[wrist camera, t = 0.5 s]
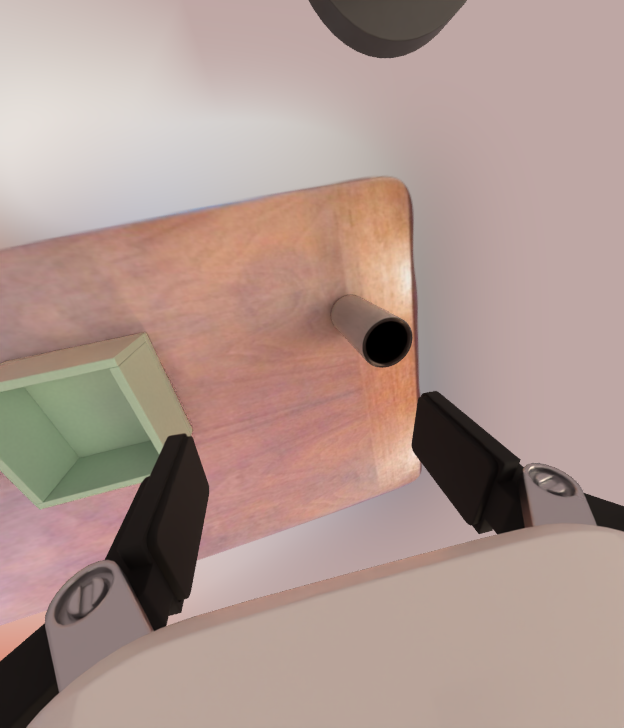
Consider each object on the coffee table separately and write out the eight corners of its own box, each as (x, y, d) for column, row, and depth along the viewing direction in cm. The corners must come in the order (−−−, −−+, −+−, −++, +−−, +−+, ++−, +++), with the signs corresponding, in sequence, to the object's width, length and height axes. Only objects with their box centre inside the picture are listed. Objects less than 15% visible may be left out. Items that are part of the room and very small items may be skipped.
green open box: (5, 360, 26) (-74, 398, 20) (145, 331, 27) (113, 357, 21) (81, 458, 32) (39, 510, 26) (193, 430, 33) (178, 473, 27)
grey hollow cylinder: (328, 298, 30) (360, 324, 20) (365, 290, 30) (413, 311, 21) (333, 335, 32) (364, 373, 22) (368, 327, 32) (412, 361, 23)
